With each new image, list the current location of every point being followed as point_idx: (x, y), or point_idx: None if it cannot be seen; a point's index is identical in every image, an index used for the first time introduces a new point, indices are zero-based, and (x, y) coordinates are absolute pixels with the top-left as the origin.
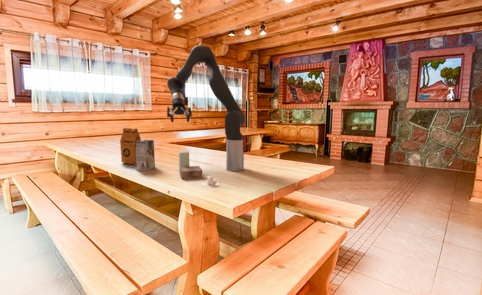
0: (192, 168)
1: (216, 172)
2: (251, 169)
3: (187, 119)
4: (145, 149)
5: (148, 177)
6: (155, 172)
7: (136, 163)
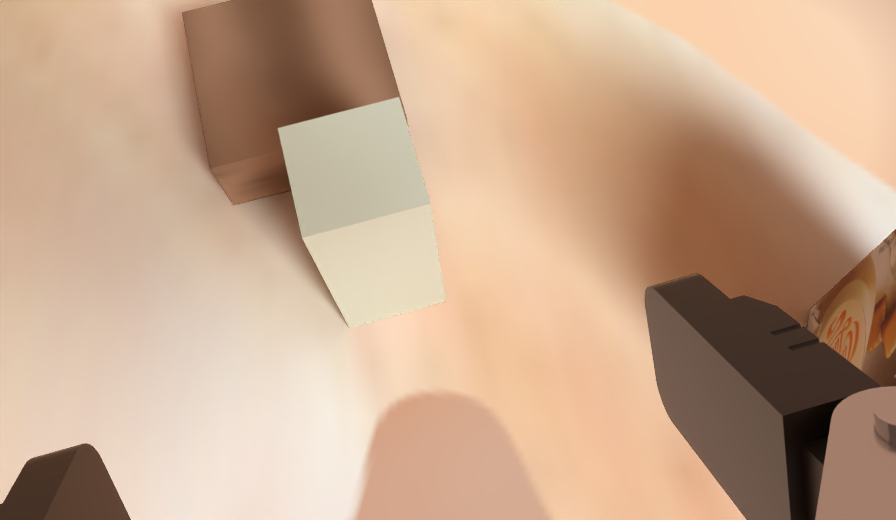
0: (272, 66)
1: (58, 235)
2: None
3: (67, 450)
4: None
5: (675, 68)
6: (680, 233)
7: None
